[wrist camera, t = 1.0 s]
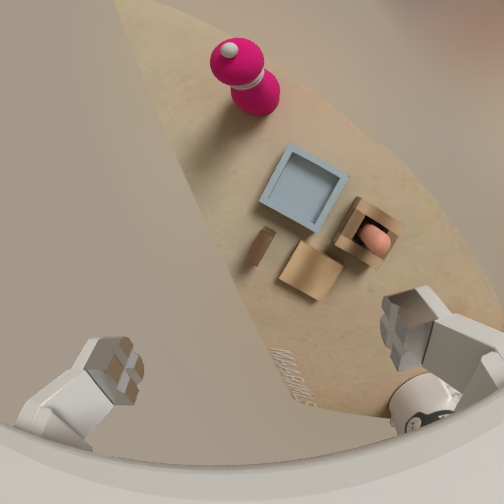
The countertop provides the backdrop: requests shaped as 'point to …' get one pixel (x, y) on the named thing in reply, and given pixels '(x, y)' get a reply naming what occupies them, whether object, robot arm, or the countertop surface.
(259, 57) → the pepper mill
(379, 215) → the socket block
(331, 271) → the tan wooden cuboid
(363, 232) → the dowel
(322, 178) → the tray
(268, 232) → the block
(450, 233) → the countertop surface
